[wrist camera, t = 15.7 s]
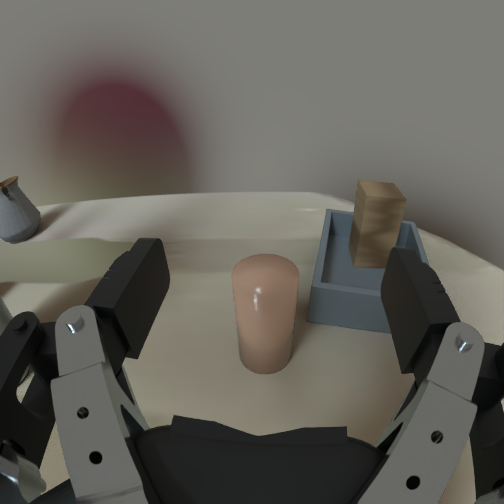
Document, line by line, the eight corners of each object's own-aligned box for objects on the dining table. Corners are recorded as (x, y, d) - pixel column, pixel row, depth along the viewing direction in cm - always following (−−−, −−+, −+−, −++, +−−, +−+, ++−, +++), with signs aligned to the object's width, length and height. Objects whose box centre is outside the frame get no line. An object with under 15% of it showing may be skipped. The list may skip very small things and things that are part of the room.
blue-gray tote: (306, 321, 31) (311, 286, 28) (323, 238, 45) (326, 208, 42) (423, 337, 28) (440, 304, 25) (406, 250, 41) (414, 222, 39)
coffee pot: (3, 236, 50) (-17, 179, 42) (40, 217, 57) (24, 159, 49) (6, 276, 38) (-26, 201, 30) (55, 249, 45) (31, 172, 36)
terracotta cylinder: (232, 367, 26) (222, 288, 21) (248, 329, 30) (244, 250, 25) (284, 378, 25) (292, 301, 20) (295, 338, 29) (303, 259, 23)
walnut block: (353, 267, 37) (366, 195, 31) (348, 246, 41) (357, 180, 35) (389, 268, 36) (406, 199, 30) (380, 247, 40) (393, 183, 34)
